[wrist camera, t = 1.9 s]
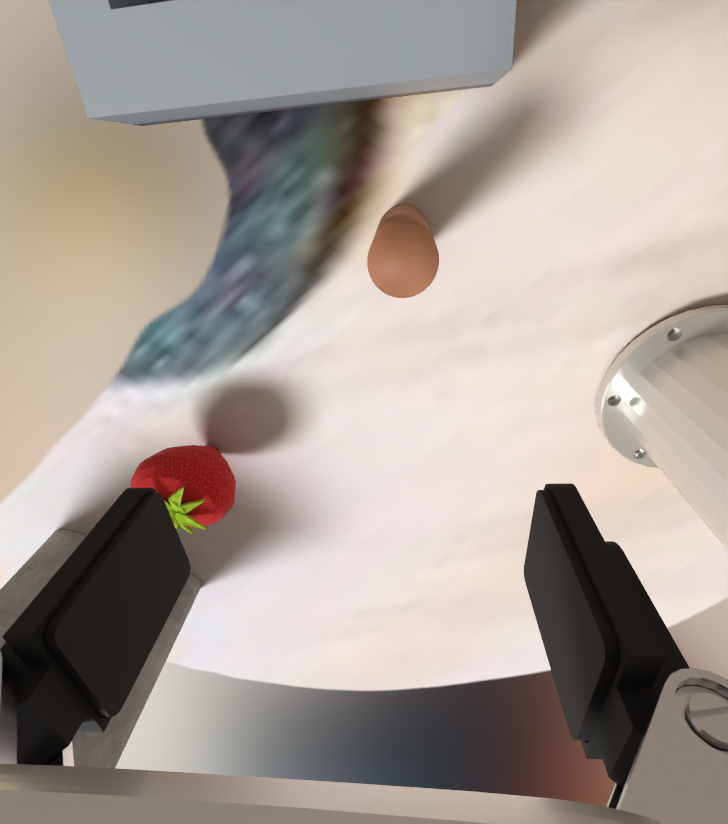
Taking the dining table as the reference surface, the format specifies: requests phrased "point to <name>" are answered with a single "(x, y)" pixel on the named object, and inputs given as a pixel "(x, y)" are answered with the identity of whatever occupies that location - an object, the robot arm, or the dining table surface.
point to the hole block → (275, 53)
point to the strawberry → (189, 484)
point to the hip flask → (108, 745)
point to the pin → (403, 253)
